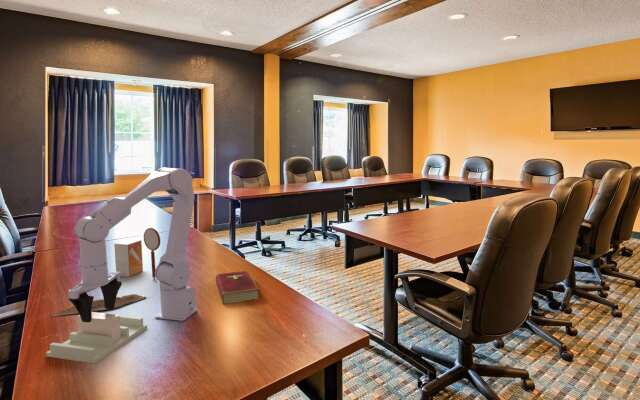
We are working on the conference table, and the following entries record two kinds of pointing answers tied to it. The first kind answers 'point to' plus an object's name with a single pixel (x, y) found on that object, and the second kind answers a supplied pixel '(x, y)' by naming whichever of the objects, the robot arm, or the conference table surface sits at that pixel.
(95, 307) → the wooden fragment
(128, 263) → the small box
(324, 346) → the conference table surface
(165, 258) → the robot arm
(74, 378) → the conference table surface
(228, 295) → the hardcover book
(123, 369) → the conference table surface
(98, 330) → the beige rectangular block
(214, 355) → the conference table surface
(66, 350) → the rack
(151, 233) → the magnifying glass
